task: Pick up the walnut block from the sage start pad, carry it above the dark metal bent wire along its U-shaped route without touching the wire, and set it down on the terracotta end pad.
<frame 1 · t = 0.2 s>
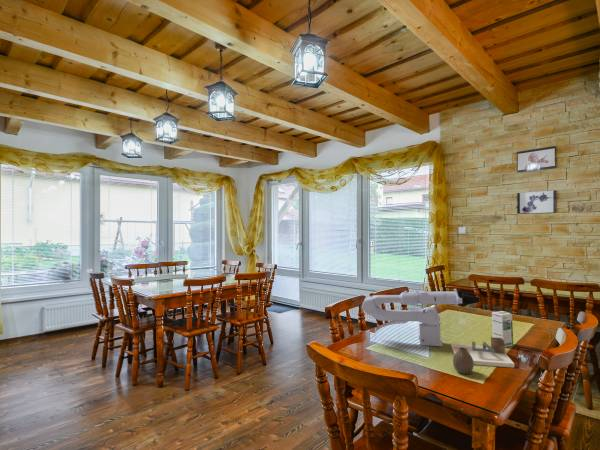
hand: (477, 298, 152), 22 cm above the table, tool horizontal, fingers open, 7 cm apart
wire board: (480, 356, 140), on the table
vase: (463, 372, 126), on the table
syrup box: (502, 345, 153), on the table
bent wire: (481, 357, 139), resting on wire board
walnut block: (497, 351, 141), point 2 cm above the table, touching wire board
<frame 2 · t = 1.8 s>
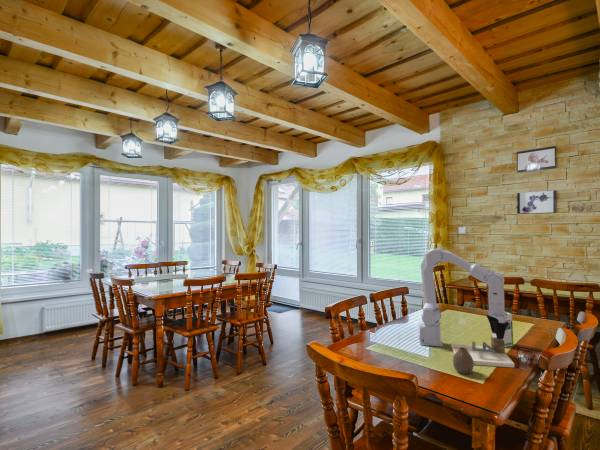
hand: (497, 335, 141), 8 cm above the table, tool pointing down, fingers open, 7 cm apart
nothing on the table moved.
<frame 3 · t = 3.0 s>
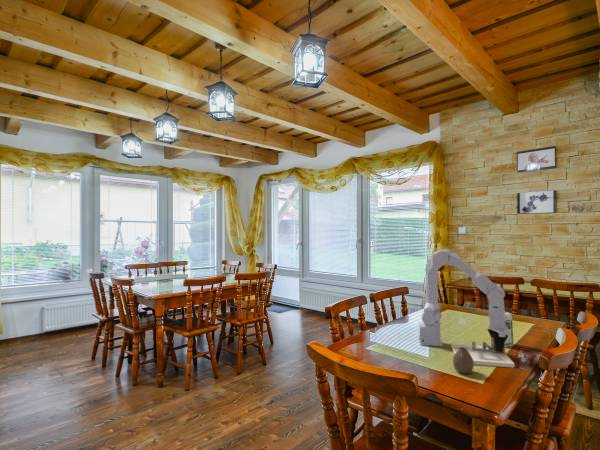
hand: (497, 349, 141), 3 cm above the table, tool pointing down, fingers closed on walnut block, 4 cm apart
walnut block: (497, 351, 141), point 2 cm above the table, touching gripper, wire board
everything else where it was.
when the fingers open (4 cm above the table, at t = 8.3 s): walnut block stays where it is, resting on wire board.
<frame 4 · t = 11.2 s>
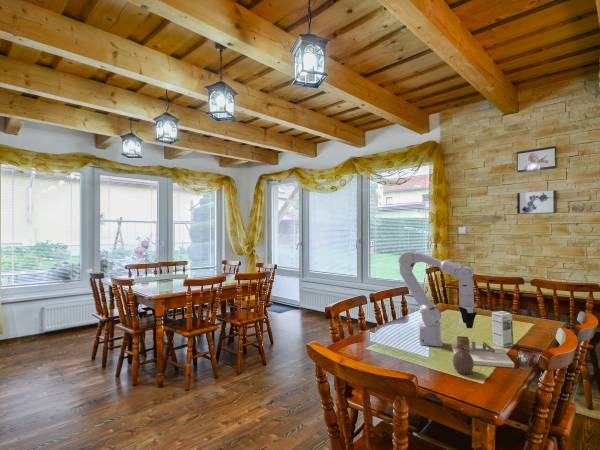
hand: (467, 325, 149), 10 cm above the table, tool pointing down, fingers open, 7 cm apart
walnut block: (463, 349, 144), point 2 cm above the table, touching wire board
everything else where it was.
at the end: walnut block 0.8 cm from the target spot, point 1.7 cm above the table; walnut block tilted 0°; walnut block touching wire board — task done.
